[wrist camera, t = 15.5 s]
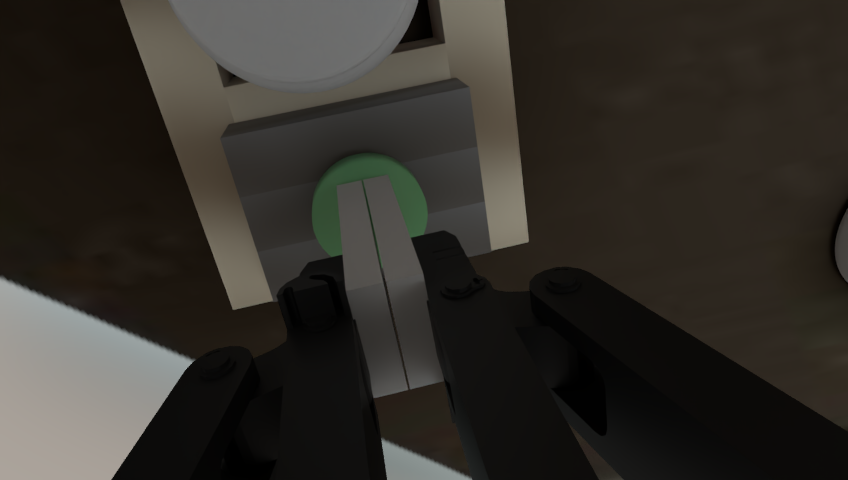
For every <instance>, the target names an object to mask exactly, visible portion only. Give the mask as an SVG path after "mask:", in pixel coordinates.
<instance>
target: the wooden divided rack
mask: <svg viewBox="0 0 848 480" xmlns="http://www.w3.org/2000/svg"><path fill="white" fill-rule="evenodd" d="M427 1H428V7H429V14H430V20H431V27H432V33H433V37H432V38H427V39H422V40H417V41H412V42H407V43H402V44H398V45H397V46H396V47H395V49H394V50H393V51H392V52H391V54H390V55H389V56H388V57H387V58H386V59H385V60H384V61H383V62H381V63H380V64H379V65H378V66H377V67H376V68H375V69H373V70H372V71H370V72H369V73H368V74H366V75H364V76H363V77H361V78H359V79H357V80H356V81H354V82H352V83H349V84H347V85H345V86H342V87H339V88H336V89H332V90H327V91H323V92H315V93H288V92H281V91H275V90H271V89H267V88H264V87H261V86H258V85H255V84H252V83H250V82H248V81H246V80H244V79H242V78H240V77H238V76H236V77H233V75H232V73H231V72H229V71H228V70H226V69H225V68H223V67H222V66H221V65H219V64H218V63H217V62H216V61H214V60H213V59H212V58H211V57H210V56H209V55H207V54H206V53H205V52H204V51H203V50H202V49H201V48H200V46H199V45H198V44H197V43H196V42H195V41H194V40H193V39H192V37H191V36H190V35H189V34H188V32H187V31H186V30H185V29H184V27H183V26H182V24H181V23H180V21H179V20H178V18H177V16H176V15H175V13H174V11H173V9H172V8H171V5H170V3H169V1H168V0H120V2H121V4H122V7H123V10H124V12H125V15H126V18H127V21H128V23H129V26H130V29H131V32H132V34H133V37H134V40H135V43H136V45H137V48H138V51H139V53H140V56H141V59H142V62H143V64H144V67H145V70H146V73H147V75H148V78H149V81H150V84H151V86H152V89H153V92H154V94H155V97H156V100H157V103H158V105H159V108H160V111H161V114H162V116H163V119H164V122H165V125H166V127H167V130H168V133H169V136H170V138H171V141H172V144H173V146H174V149H175V152H176V155H177V157H178V160H179V163H180V166H181V168H182V171H183V174H184V177H185V179H186V182H187V185H188V187H189V190H190V193H191V196H192V198H193V201H194V204H195V207H196V209H197V212H198V215H199V218H200V220H201V223H202V226H203V228H204V231H205V234H206V237H207V239H208V242H209V245H210V248H211V250H212V253H213V256H214V259H215V261H216V264H217V267H218V270H219V272H220V275H221V278H222V280H223V283H224V286H225V289H226V291H227V294H228V297H229V300H230V302H231V305H232V308H233V310H235V309H239V308H244V307H248V306H252V305H257V304H261V303H266V302H270V301H273V302H276V301H278V300H277V297H276V295H277V293H278V291H279V289H280V288H281V287H282V286H283V285H285V284H286V283H287V282H289V281H291V280H292V279H294V278H296V277H298V276H300V272H301V271H302V270H303V269H304V267H305V266H306V265H307V263H308V262H312V261H316V260H321V259H325V258H329V257H331V256H330V255H329V254H328V253H327V252H326V251H325V250H324V249H323V248H322V246H321V245H320V243H319V242H318V240H317V238H316V235H315V233H314V229H313V224H312V201H313V195H314V191H315V188H316V186H317V184H318V182H319V180H320V178H321V177H322V176H323V174H324V173H325V172H326V171H327V170H328V169H329V168H330V167H331V166H332V165H333V164H335V163H336V162H338V161H340V160H341V159H343V158H346V157H348V156H351V155H355V154H360V153H378V154H382V155H386V156H389V157H392V158H394V159H396V160H397V161H399V162H401V163H402V164H403V165H405V166H406V167H407V168H408V169H409V170H410V171H411V173H412V174H413V175H414V177H415V178H416V180H417V182H418V184H419V186H420V188H421V190H422V192H423V194H424V197H425V200H426V204H427V211H428V218H427V225H426V228H425V232H424V234H423V235H425V234H429V233H434V232H438V231H442V230H445V231H447V232H449V233H451V234H453V235H455V236H456V237H457V239H458V240H459V242H460V244H461V247H462V248H463V250H464V252H465V254H466V255H467V257H471V256H476V255H480V254H484V253H489V252H492V250H496V249H500V248H505V247H509V246H513V245H518V244H522V243H526V242H529V239H528V229H527V219H526V209H525V199H524V189H523V180H522V170H521V160H520V150H519V140H518V131H517V121H516V111H515V101H514V91H513V82H512V72H511V62H510V52H509V42H508V32H507V23H506V13H505V3H504V0H427ZM381 269H382V273H383V277H384V276H385V275H384V271H383V268H381Z"/></svg>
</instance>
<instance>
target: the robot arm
mask: <svg viewBox="0 0 848 480" xmlns="http://www.w3.org/2000/svg"><path fill="white" fill-rule="evenodd" d="M363 181H364V186H365V190H366V195H367V199H368V204H369V208H370V213H371V217H372V222H373V226H374V230H375V235H376V239H377V244H378V248H379V253H380V257H381V262H382V266H383V271H384V275H385V280H386V284H387V288H388V293H389V297H390V302H391V306H392V310H393V315H394V319H395V324H396V328H397V332H398V337H399V341H400V346H401V350H402V355H403V359H404V363H405V368H406V372H407V377H408V381H409V385H410V389H413V388H417V387H421V386H425V385H430V384H434V383H438V382H442V381H444V382H445V387H446V392H447V397H448V402H449V407H450V413H451V418H452V423H456V427H457V430H458V433H459V437H460V440H461V443H462V447H463V450H464V453H465V457H466V460H467V463H468V467H469V470H470V473H471V477H472V480H599V479H598V477H597V476H596V474H595V472H594V470H593V468H592V466H591V465H590V463H589V461H588V459H587V457H586V456H585V454H584V452H583V450H582V448H581V447H580V445H579V443H578V441H577V439H576V438H575V436H574V434H573V432H572V430H571V428H570V427H569V425H568V423H569V424H570V425H571V426H572V427H573V428H574V429H575V430H576V431H577V432H578V433H579V434H580V435H581V436H582V437H583V438H584V439H585V440H586V441H587V442H588V444H589V445H590V446H591V447H592V448H593V449H594V450H595V451H596V452H597V453H598V454H599V455H600V456H601V457H602V458H603V459H604V460H605V461H606V462H607V463H608V464H609V465H610V466H611V467H612V468H613V469H614V470H615V471H616V472H617V473H618V474H619V475H620V476H621V477H622V478H623V479H624V480H848V432H847V431H846V430H844V429H843V428H841V427H839V426H838V425H836V424H834V423H833V422H831V421H830V420H828V419H826V418H825V417H823V416H821V415H820V414H818V413H817V412H815V411H813V410H812V409H810V408H809V407H807V406H805V405H804V404H802V403H800V402H799V401H797V400H796V399H794V398H792V397H791V396H789V395H787V394H786V393H784V392H783V391H781V390H779V389H778V388H776V387H774V386H773V385H771V384H770V383H768V382H766V381H765V380H763V379H761V378H760V377H758V376H757V375H755V374H753V373H752V372H750V371H749V370H747V369H745V368H744V367H742V366H740V365H739V364H737V363H736V362H734V361H732V360H731V359H729V358H727V357H726V356H724V355H723V354H721V353H719V352H718V351H716V350H714V349H713V348H711V347H710V346H708V345H706V344H705V343H703V342H701V341H700V340H698V339H697V338H695V337H693V336H692V335H690V334H689V333H687V332H685V331H684V330H682V329H680V328H679V327H677V326H676V325H674V324H672V323H671V322H669V321H667V320H666V319H664V318H663V317H661V316H659V315H658V314H656V313H654V312H653V311H651V310H650V309H648V308H646V307H645V306H643V305H641V304H640V303H638V302H637V301H635V300H633V299H632V298H630V297H629V296H627V295H625V294H624V293H622V292H620V291H619V290H617V289H616V288H614V287H612V286H611V285H609V284H607V283H606V282H604V281H603V280H601V279H599V278H598V277H596V276H594V275H593V274H591V273H589V272H587V271H584V270H582V269H578V268H571V267H561V268H560V267H556V268H552V269H549V270H545V271H543V272H541V273H539V274H537V275H535V276H534V277H533V279H532V280H531V281H530V288H529V289H530V291H525V292H504V291H497V290H494V289H493V287H492V286H491V284H490V282H489V281H488V280H487V279H486V278H485V277H482V276H479V275H477V274H476V272H475V270H474V268H473V266H472V265H471V263H470V261H469V259H468V257H467V255H466V254H465V252H464V250H463V248H462V247H461V244H460V242H459V240H458V239H457V237H456V236H455V235H453V234H451V233H449V232H447V231H445V230H442V231H438V232H434V233H429V234H425V235H420V236H416V237H411V238H410V235H409V232H408V229H407V227H406V224H405V221H404V218H403V215H402V213H401V210H400V207H399V204H398V201H397V199H396V196H395V193H394V190H393V187H392V185H391V182H390V179H389V176H388V175H383V176H378V177H374V178H369V179H364V180H363ZM337 197H338V209H339V220H340V231H341V243H342V254H343V255H338V256H334V257H329V258H325V259H321V260H316V261H312V262H308V263H307V265H306V266H305V267H304V269H303V270H302V271H301V272H300V276H298V277H296V278H294V279H292V280H291V281H289V282H287V283H286V284H285V285H283V286H282V287H281V288H280V289H279V291H278V293H277V295H276V297H277V300H278V303H279V306H280V309H281V312H282V315H283V318H284V321H285V324H286V327H287V341H286V342H284V343H283V344H282V345H280V346H279V347H277V348H275V349H273V350H271V351H269V352H267V353H265V354H263V355H260V356H258V357H256V358H254V359H253V357H252V355H251V353H250V351H249V350H248V349H246V348H243V347H240V346H229V347H224V348H218V349H215V350H213V351H210V352H208V353H206V354H204V355H203V356H201V357H200V358H198V359H197V360H195V361H194V362H193V363H192V364H191V365H190V366H189V367H188V368H187V369H186V370H185V372H184V373H183V375H182V376H181V377H180V379H179V381H178V382H177V383H176V385H175V386H174V388H173V389H172V391H171V392H170V394H169V395H168V397H167V398H166V400H165V401H164V403H163V404H162V406H161V407H160V409H159V410H158V412H157V413H156V415H155V416H154V418H153V419H152V421H151V422H150V423H149V425H148V426H147V428H146V429H145V431H144V433H143V434H142V435H141V437H140V438H139V440H138V441H137V443H136V444H135V446H134V447H133V449H132V450H131V452H130V453H129V455H128V456H127V457H126V459H125V461H124V462H123V463H122V465H121V466H120V468H119V469H118V471H117V472H116V474H115V475H114V477H113V478H112V480H387V477H386V469H385V463H384V455H383V449H382V442H381V435H380V428H379V421H378V414H377V410H376V406H375V402H374V399H373V397H374V398H377V397H381V396H385V395H389V394H393V393H397V392H401V391H405V390H408V388H407V383H406V379H405V374H404V369H403V365H402V360H401V356H400V351H399V347H398V342H397V337H396V333H395V328H394V324H393V319H392V315H391V310H390V305H389V301H388V296H387V292H386V287H385V282H384V278H383V273H382V269H381V264H380V260H379V255H378V251H377V246H376V242H375V238H374V233H373V229H372V225H371V220H370V216H369V211H368V207H367V203H366V198H365V194H364V190H363V185H362V181H361V180H360V181H355V182H351V183H346V184H341V185H337ZM443 376H444V378H443ZM372 393H373V395H372ZM567 422H568V423H567Z"/></svg>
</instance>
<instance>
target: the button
mask: <svg viewBox="0 0 848 480" xmlns="http://www.w3.org/2000/svg"><path fill="white" fill-rule="evenodd" d="M383 175H388V176H389V179H390V182H391V185H392V187H393V190H394V193H395V196H396V199H397V201H398V204H399V207H400V210H401V213H402V215H403V218H404V221H405V224H406V227H407V229H408V232H409V235H410V238H411V237H416V236H420V235H423V234H424V232H425V228H426V225H427V218H428V211H427V204H426V200H425V197H424V194H423V192H422V190H421V188H420V186H419V184H418V182H417V180H416V178H415V177H414V175H413V174H412V173H411V171H410V170H409V169H408V168H407V167H406V166H405V165H403V164H402V163H401V162H399V161H397V160H396V159H394V158H392V157H389V156H386V155H382V154H378V153H360V154H355V155H351V156H348V157H346V158H343V159H341V160H340V161H338V162H336V163H335V164H333V165H332V166H331V167H330V168H329V169H328V170H327V171H326V172H325V173H324V174H323V176H322V177H321V178H320V180H319V182H318V184H317V186H316V188H315V191H314V195H313V201H312V224H313V229H314V233H315V235H316V238H317V240H318V242H319V243H320V245H321V246H322V248H323V249H324V250H325V251H326V252H327V253H328V254H329V255H330V256H331V257H334V256H338V255H343V254H342V243H341V231H340V220H339V209H338V197H337V185H341V184H346V183H351V182H355V181H360V180H361V181H362V185H363V190H364V194H365V198H366V203H367V207H368V211H369V216H370V220H371V225H372V229H373V233H374V238H375V242H376V246H377V251H378V255H379V260H380V264H381V268H383V266H382V262H381V257H380V253H379V248H378V244H377V239H376V235H375V230H374V226H373V222H372V217H371V213H370V208H369V204H368V199H367V195H366V190H365V186H364V181H363V180H364V179H369V178H374V177H378V176H383Z"/></svg>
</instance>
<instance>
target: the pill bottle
mask: <svg viewBox="0 0 848 480" xmlns="http://www.w3.org/2000/svg"><path fill="white" fill-rule="evenodd" d="M168 1H169V3H170V5H171V8H172V9H173V11H174V13H175V15H176V16H177V18H178V20H179V21H180V23H181V24H182V26H183V27H184V29H185V30H186V31H187V32H188V34H189V35H190V36H191V37H192V39H193V40H194V41H195V42H196V43H197V44H198V45H199V46H200V48H201V49H202V50H203V51H204V52H205V53H206V54H207V55H209V56H210V57H211V58H212V59H213V60H214V61H216V62H217V63H218V64H219V65H221V66H222V67H223V68H225V69H226V70H228V71H229V72H231V73H233V74H234V75H236V76H238V77H240V78H242V79H244V80H246V81H248V82H250V83H252V84H255V85H258V86H261V87H264V88H267V89H271V90H275V91H281V92H288V93H315V92H323V91H327V90H332V89H336V88H339V87H342V86H345V85H347V84H349V83H352V82H354V81H356V80H357V79H359V78H361V77H363V76H364V75H366V74H368V73H369V72H370V71H372V70H373V69H375V68H376V67H377V66H378V65H379V64H380V63H381V62H383V61H384V60H385V59H386V58H387V57H388V56H389V55H390V54H391V52H392V51H393V50H394V49H395V47H396V46H397V45H398V43H399V42H400V40H401V39H402V37H403V36H404V34H405V32H406V30H407V29H408V27H409V24H410V22H411V20H412V18H413V16H414V13H415V10H416V7H417V3H418V0H168Z"/></svg>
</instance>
